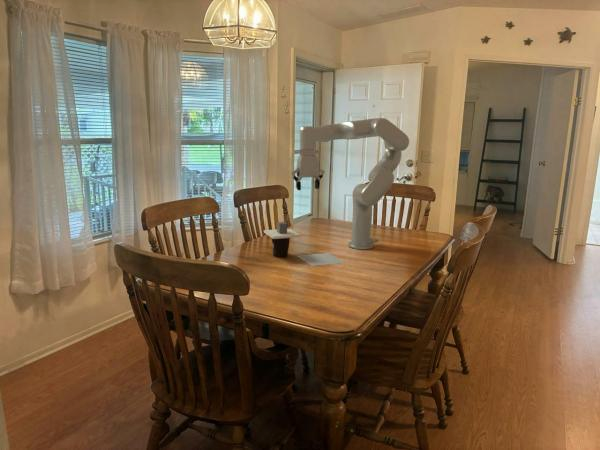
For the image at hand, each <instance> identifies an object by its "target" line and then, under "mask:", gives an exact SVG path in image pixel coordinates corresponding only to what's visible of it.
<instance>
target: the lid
mask: <svg viewBox="0 0 600 450" xmlns="http://www.w3.org/2000/svg"><path fill="white" fill-rule="evenodd" d="M263 233H264V234H265V235H267V236H269V238H271V240H272V239H280V238H290V239H291V238H293V239H294V238H301V237H302V236H301V234H300V233H298V231H297V232H296V231H295V230H294V229H292V228H288V222H285V221H277V222H276V229H263Z"/></svg>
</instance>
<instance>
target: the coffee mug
mask: <svg viewBox="0 0 600 450" xmlns="http://www.w3.org/2000/svg"><path fill="white" fill-rule="evenodd" d="M290 241H291V238H280V239H272V238H271V245H272V247H271V248H272V256H273V257H274V258H277V259H279V258H280V259H281V258H287V257H288V255H289V247H290V243H291V242H290Z"/></svg>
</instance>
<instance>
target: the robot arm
mask: <svg viewBox="0 0 600 450" xmlns="http://www.w3.org/2000/svg"><path fill="white" fill-rule="evenodd" d="M372 137H373V138H374V137H379V138H381V139H382V140H383V144H384V149H385V150H384V151H385V152H384V153H383V154H384V155H383V156H382V157H381V159H380V160H379V161H378V162H377V163H376V165H375V166H374V167H373V168H372V169H371V170H370V172H369V174H368V177H367V179H368V181H369V183H359V184H357V185H356V186H355V187H354V188H353V191H352V223H351V241H350V242H348V243H347V246H348V247H349V248H350V249H355V250H371V249H372V248H374V243H379V240H380V239H379V238H374V237H372V223H373V222H372V221H373V220H372V219H373V206H374V205H377V203H379V201H380V200H382V198H383V197H384V196H385V195H386V194H387V192H388V191H389V190H390V189H391V188H392V186H393V184H394V181H395V175H394V172H395V170H396V169H397V168H398V166H399V164H400V163H401V161H402V152H403V151H405V150H406V149H408V147H409V144H410V138H409V136H408V135H407V134H406V133H405V132H404V131H403V130H401V129H400V128H399V127H398V126H397V125H395V124H393V122H391V121H390V120H389V119H387V118H384V117H377V118H376V117H375V118H367V119H359V120H350V121H345V122H341V123H333V124H326V125H325V124H324V125H318V126H310V125H309V126H306V125H305V126H300V128H299V155H298V157H297V161H296V163H297V164H296V169H294V170H293V171H291V172H290V175H291V178H292V179H293V180H294V181H295V188H296V190H297V191H301V190H302V185H301V184H302V182H301V181H302V179H305V178H314V188H315V189H316V190H319V189H320V185H321V184H320V182H321V181H322V178H323V177H324V174H325V170H323V169H321V168H320V167H319V159H318V156H317V154H319V150H318V149H317V142H320V143H328V142H331V141H335V140H347V141H348V140H360V139H366V138H372Z"/></svg>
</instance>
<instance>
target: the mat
mask: <svg viewBox="0 0 600 450" xmlns="http://www.w3.org/2000/svg"><path fill="white" fill-rule="evenodd" d="M297 258H299V259H300V260H302V261H303V262H305V263H306V264H308V265H309V266H311V267H315V266H316V267H317V266H325V265H326V266H327V265H333V264H334V265H335V264H343V263H344V264H345V261H343V260H341V259H339V258H337V257H336V256H334V255H332V254H331V253H330V252H323V253H315V254H313V253H312V254H303V255H297Z"/></svg>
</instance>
